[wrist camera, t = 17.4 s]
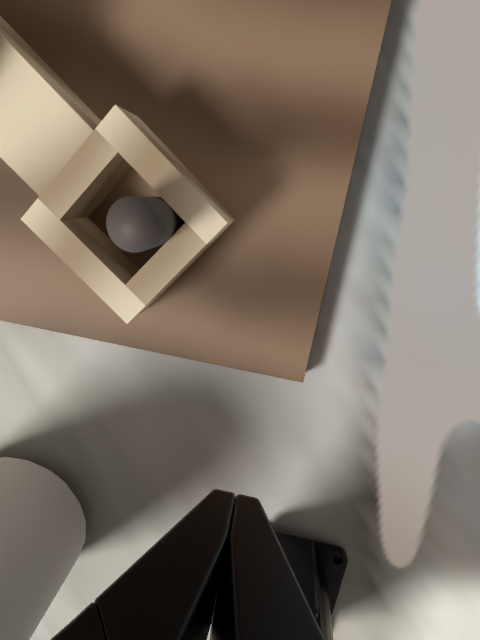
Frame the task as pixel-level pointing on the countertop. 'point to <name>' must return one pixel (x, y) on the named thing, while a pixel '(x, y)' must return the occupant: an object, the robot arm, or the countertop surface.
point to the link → (95, 180)
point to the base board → (206, 166)
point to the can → (34, 543)
